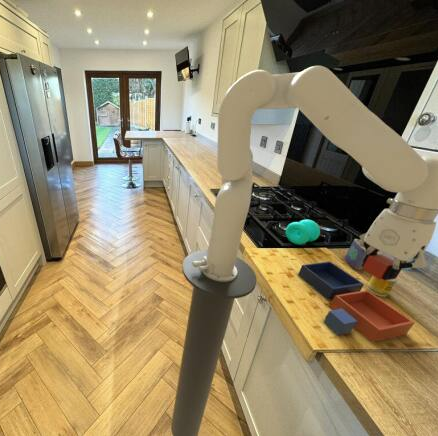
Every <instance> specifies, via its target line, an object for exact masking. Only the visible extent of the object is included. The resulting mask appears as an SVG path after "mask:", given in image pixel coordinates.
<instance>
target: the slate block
mask: <svg viewBox="0 0 438 436" xmlns="http://www.w3.org/2000/svg"><path fill="white" fill-rule="evenodd" d="M357 322H358V321H357V320H356V319H354V318H353V317H352V316H351V315H349V314H348V313H347V312H346V311H344V310H343V309H337V310H333V309H332V310H328V313H327V314H326V317H325V318H324V320H323V323H324V324H325V325H326V326H327V327H328V328H329V329H330V330H331V331H332V332H334V333H335V335H337V336H342V335H346V334H351V333H352V331H353V330H354V328H355V325H356V323H357Z"/></svg>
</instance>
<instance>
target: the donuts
mask: <svg viewBox="0 0 438 436" xmlns="http://www.w3.org/2000/svg"><path fill="white" fill-rule="evenodd" d="M320 235H321V229H320V225H318V223H316V221H314V220H311V219H302V220H300V221H293V222H291V223H289V224H288V225H287V226H286V229H285V236H286V238H287V240H288V241H289V242H291V243H292V244H294V245H298V246H299V245H300V246H301V245H304V244H306V243H307V242H314V241H316V240H317V239H318V238H319V237H320Z"/></svg>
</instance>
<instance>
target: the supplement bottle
mask: <svg viewBox="0 0 438 436" xmlns="http://www.w3.org/2000/svg"><path fill="white" fill-rule="evenodd" d="M398 280H399V279H398V276H397V277H396V278H395V279H391V280H383V279H378V278H376V277H374V276H373V275H371V278H370V279H369V281H368V283H367V285H366V288H367V289H366V290H368V291H369V292H371V293H372V294H374V295H375V296H377V297H387V296H388V295H389V294H390V292H391V291H392V289H393V287H394V285H395V284H396V283H397V281H398Z"/></svg>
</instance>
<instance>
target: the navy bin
mask: <svg viewBox="0 0 438 436" xmlns="http://www.w3.org/2000/svg"><path fill="white" fill-rule="evenodd" d="M298 277H300V278H301V279H302V280H304V282H306V284H308V285H310V286H311V287H312V288H313V289H315V290H316V292H318V293H319V294H320V295H322V296H323V297H324V298H325V299H326V300H329V301H330V300H333V299H334V297H335V295H341V294H347V293H353V292H359V291H362V289H363V287H364V285H365V283H363V282H362V281H360V280H359V279H358V278H356V277H354V276H353V275H351V274H350V273H348V272H347V271H346V270H344V269H343V268H341V267H340V266H338V265H336V264H335V263H333V262H332V261H329V260H328V261H321V262H314V263H307V264H302V265H301V267H300V269H299V272H298Z"/></svg>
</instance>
